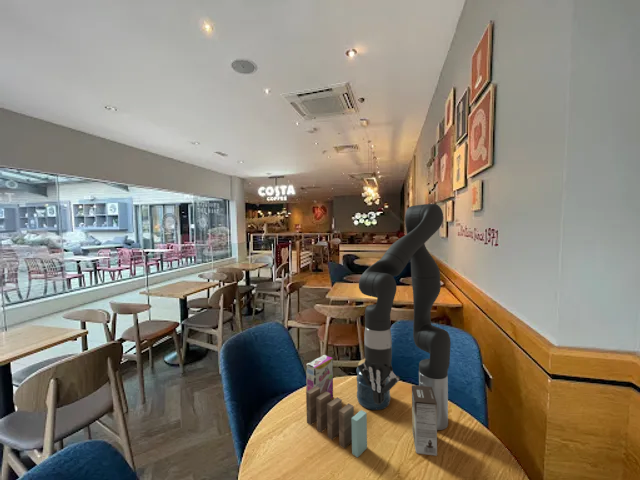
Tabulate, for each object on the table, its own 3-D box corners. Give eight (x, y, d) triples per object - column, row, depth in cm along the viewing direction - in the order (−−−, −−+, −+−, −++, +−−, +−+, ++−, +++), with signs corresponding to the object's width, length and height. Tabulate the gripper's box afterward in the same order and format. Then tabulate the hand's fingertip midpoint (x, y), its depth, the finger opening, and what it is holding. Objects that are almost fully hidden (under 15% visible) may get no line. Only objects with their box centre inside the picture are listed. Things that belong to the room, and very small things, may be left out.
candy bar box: (315, 411, 103) (314, 368, 102) (306, 406, 106) (305, 364, 105) (334, 397, 111) (333, 357, 110) (324, 392, 114) (323, 353, 114)
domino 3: (342, 431, 92) (341, 399, 91) (332, 440, 88) (331, 406, 88) (337, 428, 93) (337, 397, 93) (327, 437, 90) (326, 403, 89)
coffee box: (411, 431, 91) (411, 384, 91) (432, 434, 90) (431, 385, 89) (415, 453, 82) (414, 401, 82) (438, 456, 81) (437, 403, 80)
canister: (351, 393, 113) (351, 351, 112) (380, 388, 116) (379, 347, 116) (365, 413, 100) (364, 366, 100) (396, 407, 104) (396, 361, 103)
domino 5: (367, 447, 85) (366, 412, 84) (357, 457, 81) (356, 421, 81) (361, 444, 86) (361, 409, 86) (352, 453, 83) (351, 418, 82)
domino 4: (354, 439, 88) (353, 405, 88) (344, 448, 85) (343, 413, 84) (349, 436, 90) (348, 403, 89) (339, 445, 86) (338, 410, 86)
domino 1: (320, 418, 99) (320, 388, 98) (310, 425, 95) (310, 394, 95) (316, 415, 100) (316, 385, 100) (306, 422, 97) (306, 391, 96)
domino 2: (331, 424, 95) (330, 393, 95) (321, 432, 92) (320, 400, 91) (327, 422, 97) (326, 391, 96) (316, 429, 93) (316, 397, 93)
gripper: (351, 340, 80) (352, 399, 80) (392, 354, 70) (392, 420, 71) (366, 333, 85) (366, 388, 86) (406, 345, 76) (406, 406, 76)
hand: (378, 402), depth 78 cm, fingers closed
